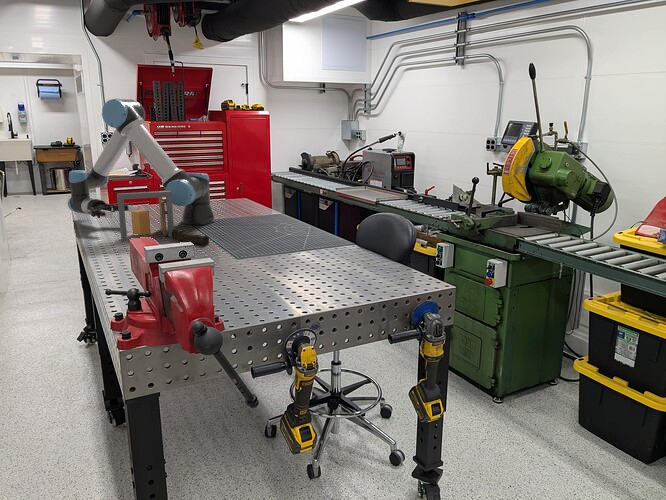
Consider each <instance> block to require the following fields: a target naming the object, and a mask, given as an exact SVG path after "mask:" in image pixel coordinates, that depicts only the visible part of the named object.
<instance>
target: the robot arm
mask: <svg viewBox="0 0 666 500" xmlns="http://www.w3.org/2000/svg"><path fill="white" fill-rule="evenodd" d="M101 117H102V120H103V122H104V123H105V124H106V125H107V126H108V127H111V128H114V129H115V130H114V132H113V133H112V134H111V136H110V138H109V140H108V141H107V143H106V145H105V147H104V149H103V150H102V152H101V154H100V155H99V156H98V158H97V160H96V162H95V163H94V165H93V166H92V168H91V170H90V172H87V170H83V169H82V170H81V169H78V170H70V171H69V173H68V182H69V186H70V193H71V194H70V195H71V197H69V199H68V200H67V207H68V208H69V210H70V211H72V212H74V213H77V214H83V215H89V216H91V217H93V218H96V217H97V219H101V217H103V218H108V219H112V218H113V213H115V212H119V210H118V203H112V204H111V203H106V202H105V201H104V199H99V198H91V197H90V190H94V189H99V188H103V187H105V186H106V185H107V184H108V183H109V175H110V173H111V172H112V170H113V169H114V167H115V165H116V163H117V162H118V161H119V159H120V157H121V156H122V154H123V153H124V151H125V149H126V148H127V146H128V145H129V143H130V142H131V144H132V145H133V146H134V147H135V149H136V150H137V151H138V152H139V154H141V156H142V157H143V158H144V160H145V161H146V162H147V163H148V164H149V166H150V167H151V168H152V169H153V171H154V172H155V173H156V174H157V175H158V177H159V178H160V179H161V180H162V184H161V185H162V186H161V187H163V188H164V191H171V193H172V205H174V206H177V207H183V206H184V208H183V212H182V215H181V222H182V223H183V224H187V225H206V224H211V223H214V222H215V221H216V219H215V214H214V211H213V208H212V207H211V195H210V194H211V193H210V176H209V175H208V173H197V172H186V171H185V169H182V168H178V167H177V165H176V164H175V163H174V161H173V160H172V159H171V157H170V156H169V155H168V154H167V152H166V151H164V149H163V148H162V146H161V145H160V144H159V142H157V140H156V139H155V138H154V137H153V135H152V133H150V132H149V130H148V129H147V128H146V127H145V125H144V122H145V120H146V111H145V109H144V107H143V106H142V104H141V103H140V102H138V101H137V100H136V99H135V100H134V99H123V98H122V99H121V98H113V99H112V98H111V99H108V100H106V102H105V103H103V106H102V108H101ZM124 210H125V212H130V213H131V211H136V210H140V206H137V205H134V204H131V203H127V204H126V203H124Z"/></svg>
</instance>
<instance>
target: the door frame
mask: <svg viewBox="0 0 666 500" xmlns="http://www.w3.org/2000/svg"><path fill="white" fill-rule="evenodd" d="M116 196H117V197H116V199H117V204H118V210H119V211H118V221H119V229H120V230H119V231H120V240H121V242H128V235H127V234H128V233H127V232H128V231H127V223H126V221H127V220H126V211H125V210H124V204H125V201H124V200H133V199H134V200H135V199H136V200H137V199H149V198H150V199H151V198H153V199H154V198H159V197H162V198H165V208H166V211H167V214H166V218H167V221H166V222H167V233H168V234H167V236H168V237H169V238H172V235H171V233H172V231H173V230H174V229H175V226H174V225H175V224H174V211H173V210H174V209H173V203H172V193H171V191H165V190H162V191H159V190H158V191H144V192H143V191H142V192H126V193H116Z"/></svg>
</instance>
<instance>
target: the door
mask: <svg viewBox="0 0 666 500" xmlns="http://www.w3.org/2000/svg"><path fill="white" fill-rule="evenodd" d="M158 206H159V217H160V218H159V219H160V220H159V221H160V229H161V232H162V234H163V236H168V234H167V233H168V230H167V221H166V218H167V216H166V215H167V210H166V202H165V200H164V199H163V197H158Z"/></svg>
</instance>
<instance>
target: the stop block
mask: <svg viewBox="0 0 666 500" xmlns="http://www.w3.org/2000/svg"><path fill="white" fill-rule="evenodd" d="M130 215H131V216H130V217H131V228H132V229H131V230H132V235H133V234H138V235H144V236H146V235H145V234H148V235H151V234H150V233H151V220H150V211H149V210H148V209H147V210H146V209H139V210H136V211H131V212H130Z"/></svg>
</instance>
